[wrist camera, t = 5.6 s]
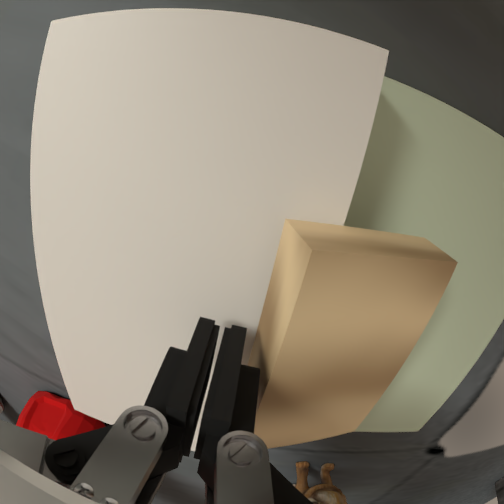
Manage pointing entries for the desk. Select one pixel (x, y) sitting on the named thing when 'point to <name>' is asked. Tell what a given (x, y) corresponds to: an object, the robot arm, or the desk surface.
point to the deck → (181, 178)
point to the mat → (436, 238)
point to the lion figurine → (323, 495)
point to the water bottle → (55, 417)
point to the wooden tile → (339, 325)
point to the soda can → (1, 405)
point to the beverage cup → (500, 490)
